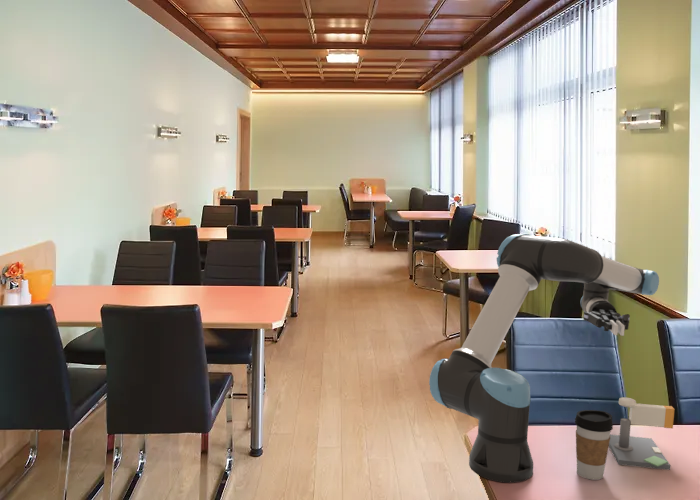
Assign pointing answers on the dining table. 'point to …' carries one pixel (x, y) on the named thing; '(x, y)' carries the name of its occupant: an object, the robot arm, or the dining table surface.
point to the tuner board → (638, 453)
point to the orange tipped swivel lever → (643, 418)
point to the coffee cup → (592, 442)
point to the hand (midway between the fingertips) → (619, 330)
